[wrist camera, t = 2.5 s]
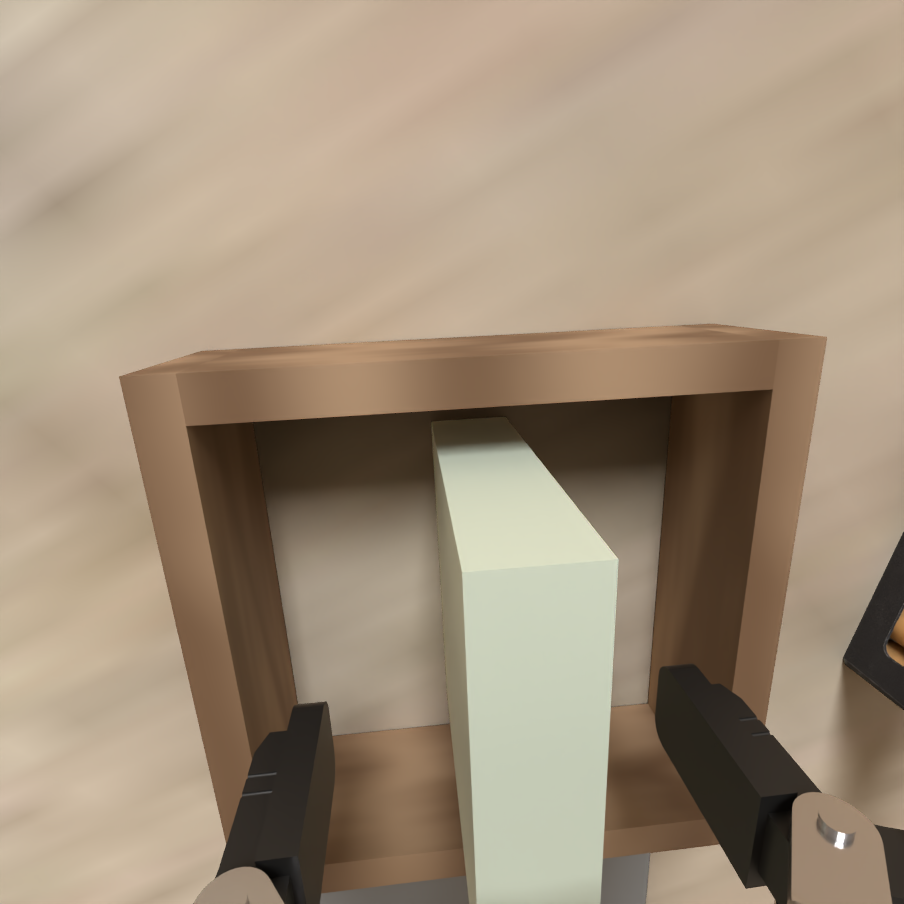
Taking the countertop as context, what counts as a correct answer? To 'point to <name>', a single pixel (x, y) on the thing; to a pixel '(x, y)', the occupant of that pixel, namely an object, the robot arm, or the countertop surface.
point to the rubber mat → (449, 896)
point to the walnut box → (460, 387)
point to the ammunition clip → (883, 634)
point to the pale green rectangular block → (523, 666)
